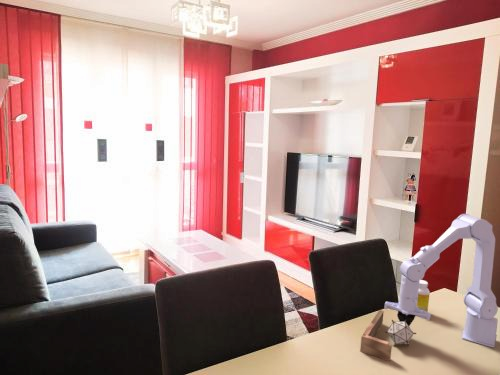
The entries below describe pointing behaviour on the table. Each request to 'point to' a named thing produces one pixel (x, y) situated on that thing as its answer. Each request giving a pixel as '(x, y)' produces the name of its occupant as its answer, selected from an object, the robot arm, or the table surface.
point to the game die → (400, 332)
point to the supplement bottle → (423, 296)
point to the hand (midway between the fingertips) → (404, 333)
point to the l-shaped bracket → (375, 340)
